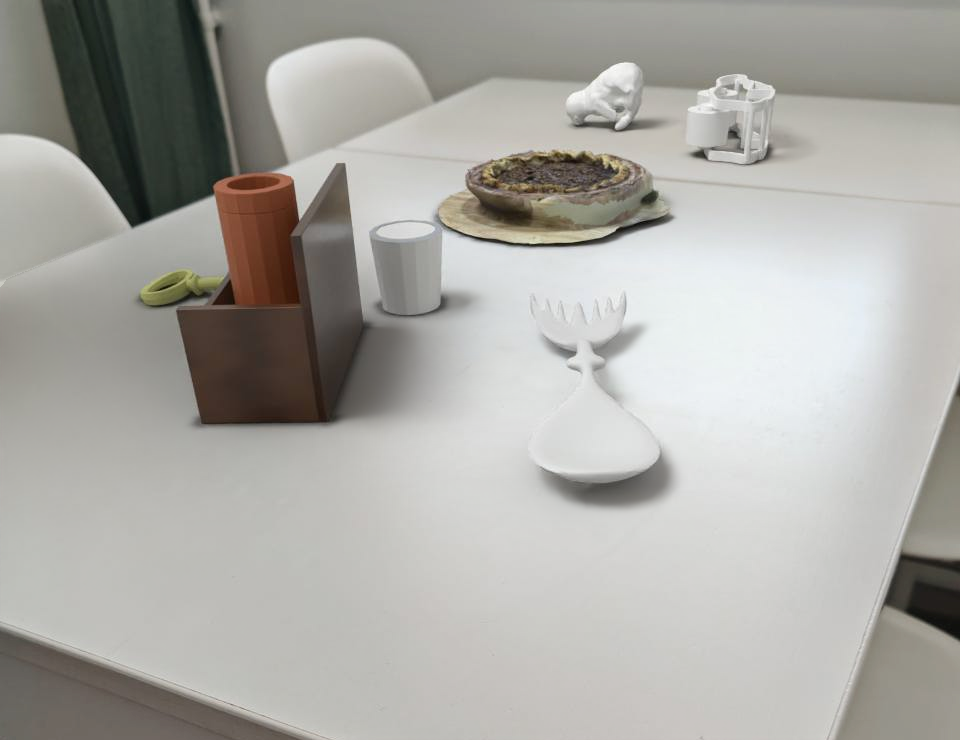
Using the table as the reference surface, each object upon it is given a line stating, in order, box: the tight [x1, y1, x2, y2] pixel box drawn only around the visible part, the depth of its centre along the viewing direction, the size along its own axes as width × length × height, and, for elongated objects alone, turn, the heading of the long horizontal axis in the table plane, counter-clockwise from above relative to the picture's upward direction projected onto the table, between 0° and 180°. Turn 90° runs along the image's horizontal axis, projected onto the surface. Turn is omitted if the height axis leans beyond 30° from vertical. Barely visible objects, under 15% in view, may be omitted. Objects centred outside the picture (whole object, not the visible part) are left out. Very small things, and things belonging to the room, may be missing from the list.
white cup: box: [368, 219, 443, 316], centre depth 95 cm, size 7×7×7 cm
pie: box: [438, 149, 671, 245], centre depth 119 cm, size 28×27×5 cm
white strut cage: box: [684, 73, 776, 165], centre depth 139 cm, size 20×11×7 cm, turn 164°
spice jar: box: [212, 172, 300, 305], centre depth 80 cm, size 6×6×10 cm
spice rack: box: [175, 162, 364, 424], centre depth 81 cm, size 10×20×14 cm, turn 177°
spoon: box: [528, 290, 661, 484], centre depth 78 cm, size 9×32×4 cm, turn 178°
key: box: [140, 268, 225, 306], centre depth 101 cm, size 7×12×2 cm, turn 96°
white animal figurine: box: [565, 61, 645, 132], centre depth 152 cm, size 6×8×12 cm
